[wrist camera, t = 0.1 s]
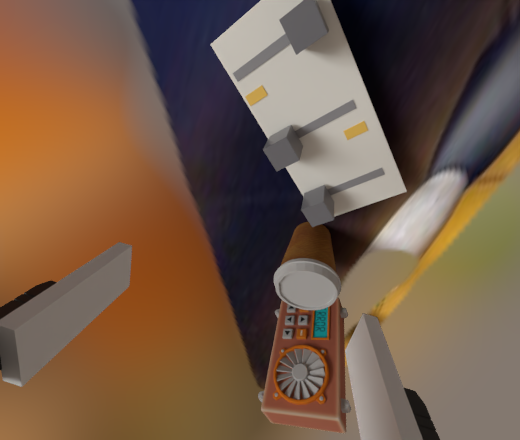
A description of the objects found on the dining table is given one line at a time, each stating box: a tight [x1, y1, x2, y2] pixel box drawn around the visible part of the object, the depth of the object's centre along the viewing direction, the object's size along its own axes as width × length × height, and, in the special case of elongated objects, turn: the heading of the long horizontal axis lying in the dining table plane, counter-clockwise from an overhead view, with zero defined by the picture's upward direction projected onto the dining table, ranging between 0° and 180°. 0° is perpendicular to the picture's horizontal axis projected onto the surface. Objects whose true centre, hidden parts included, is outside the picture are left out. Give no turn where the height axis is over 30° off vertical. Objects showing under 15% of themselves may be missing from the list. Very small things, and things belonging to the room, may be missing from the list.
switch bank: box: [210, 0, 407, 216], centre depth 33 cm, size 12×26×4 cm, turn 33°
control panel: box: [258, 298, 351, 433], centre depth 51 cm, size 21×7×15 cm
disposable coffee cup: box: [274, 222, 341, 310], centre depth 42 cm, size 10×10×12 cm
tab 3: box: [301, 185, 334, 227], centre depth 35 cm, size 3×3×4 cm
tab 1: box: [263, 125, 303, 171], centre depth 32 cm, size 3×3×4 cm
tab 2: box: [279, 0, 329, 55], centre depth 24 cm, size 3×3×4 cm
